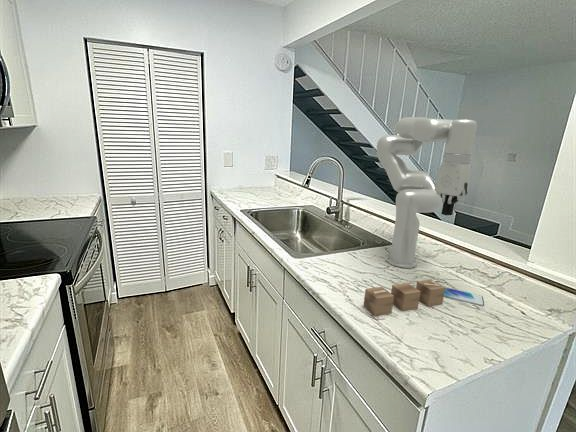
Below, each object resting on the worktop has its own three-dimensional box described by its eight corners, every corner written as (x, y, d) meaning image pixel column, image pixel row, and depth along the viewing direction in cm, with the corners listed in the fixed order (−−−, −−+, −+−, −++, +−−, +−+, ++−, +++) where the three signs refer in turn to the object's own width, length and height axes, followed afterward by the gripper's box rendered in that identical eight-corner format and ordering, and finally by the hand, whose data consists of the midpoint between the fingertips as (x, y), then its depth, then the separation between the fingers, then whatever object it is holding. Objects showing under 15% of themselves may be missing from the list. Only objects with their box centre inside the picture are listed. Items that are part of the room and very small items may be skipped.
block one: (363, 306, 99) (365, 288, 97) (379, 303, 101) (381, 286, 99) (374, 316, 94) (377, 297, 92) (391, 313, 96) (394, 295, 94)
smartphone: (484, 305, 102) (434, 293, 108) (484, 308, 102) (433, 295, 109) (483, 295, 108) (435, 284, 115) (482, 298, 108) (434, 286, 115)
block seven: (414, 297, 106) (417, 280, 104) (428, 295, 108) (431, 278, 106) (427, 307, 100) (431, 289, 99) (442, 304, 103) (445, 286, 101)
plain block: (389, 301, 102) (392, 284, 101) (404, 299, 104) (407, 282, 103) (402, 311, 97) (405, 294, 95) (417, 308, 99) (420, 291, 97)
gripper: (430, 157, 107) (421, 209, 112) (468, 161, 94) (456, 221, 99) (447, 157, 110) (438, 209, 115) (486, 162, 96) (474, 220, 101)
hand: (446, 214), depth 107 cm, fingers closed
